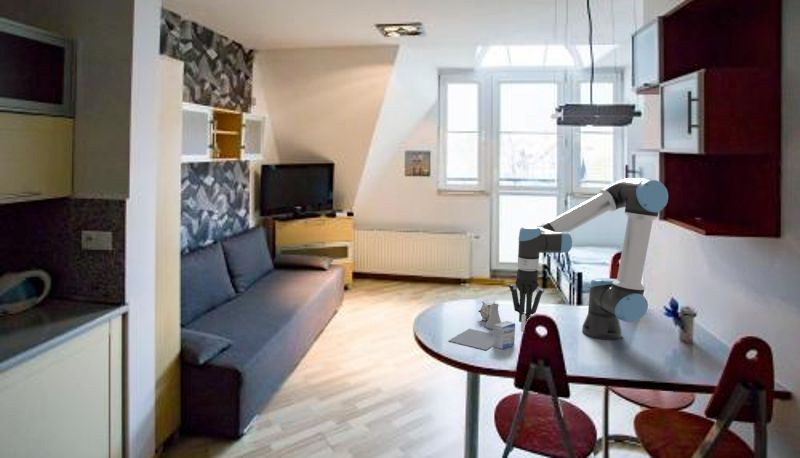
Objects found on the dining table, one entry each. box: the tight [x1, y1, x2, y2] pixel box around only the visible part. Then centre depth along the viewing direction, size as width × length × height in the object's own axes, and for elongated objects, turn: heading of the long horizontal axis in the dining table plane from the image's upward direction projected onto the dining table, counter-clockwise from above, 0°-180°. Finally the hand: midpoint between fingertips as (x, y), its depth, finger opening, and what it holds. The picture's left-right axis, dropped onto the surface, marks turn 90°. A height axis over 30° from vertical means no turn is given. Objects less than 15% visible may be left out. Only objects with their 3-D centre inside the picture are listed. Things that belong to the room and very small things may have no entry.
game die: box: [477, 301, 496, 322], centre depth 237 cm, size 9×8×10 cm
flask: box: [485, 302, 502, 330], centre depth 228 cm, size 7×7×10 cm
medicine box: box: [492, 320, 516, 350], centre depth 207 cm, size 8×4×9 cm, turn 132°
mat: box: [448, 328, 494, 351], centre depth 213 cm, size 16×18×1 cm
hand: (523, 330), depth 202 cm, fingers closed
